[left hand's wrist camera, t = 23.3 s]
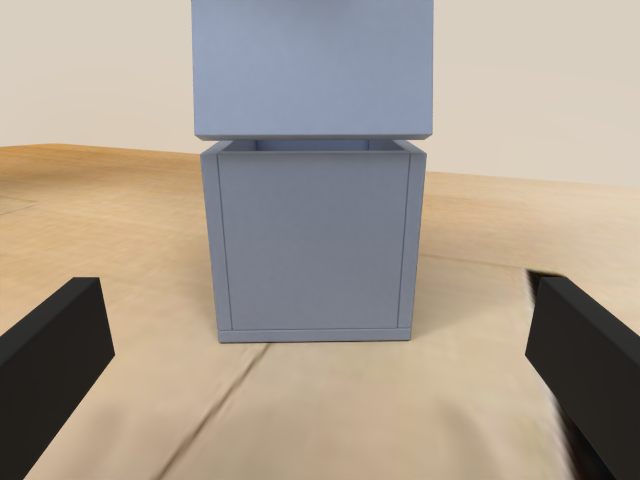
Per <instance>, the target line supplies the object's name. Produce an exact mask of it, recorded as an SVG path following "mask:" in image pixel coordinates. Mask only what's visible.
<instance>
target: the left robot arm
mask: <svg viewBox="0 0 640 480" xmlns="http://www.w3.org/2000/svg"><path fill="white" fill-rule="evenodd" d="M114 356H115V352H114V347H113V342H112V337H111V333H110V328H109V323H108V318H107V313H106V308H105V303H104V298H103V294H102V289H101V284H100V279H99V277H73V278H72V279H71V280H69V281H68V282H67V283H66V284H65V285H63V286H62V287H61V288H60V289H58V290H57V291H56V292H55V293H53V294H52V295H51V296H50V297H49V298H47V299H46V300H45V301H44V302H42V303H41V304H40V305H39V306H37V307H36V308H35V309H34V310H32V311H31V312H30V313H29V314H28V315H26V316H25V317H24V318H23V319H21V320H20V321H19V322H18V323H16V324H15V325H14V326H13V327H11V328H10V329H9V330H8V331H7V332H5V333H4V334H3V335H2V336H0V480H23V479H24V478H25V476H26V475H27V474H28V472H29V471H30V470H31V468H32V467H33V466H34V464H35V463H36V462H37V460H38V459H39V457H40V456H41V455H42V453H43V452H44V451H45V449H46V448H47V447H48V445H49V444H50V443H51V441H52V440H53V439H54V437H55V436H56V434H57V433H58V432H59V430H60V429H61V428H62V426H63V425H64V424H65V422H66V421H67V420H68V418H69V417H70V415H71V414H72V413H73V411H74V410H75V409H76V407H77V406H78V405H79V403H80V402H81V401H82V399H83V398H84V397H85V395H86V394H87V392H88V391H89V390H90V388H91V387H92V386H93V384H94V383H95V382H96V380H97V379H98V378H99V376H100V375H101V374H102V372H103V371H104V369H105V368H106V367H107V365H108V364H109V363H110V361H111V360H112V359H113V357H114ZM525 356H526V357H527V359H528V360H529V361H530V363H531V364H532V365H533V367H534V368H535V369H536V371H537V372H538V374H539V375H540V376H541V378H542V379H543V380H544V382H545V383H546V384H547V386H548V387H549V388H550V390H551V391H552V392H553V394H554V395H555V397H556V398H557V399H558V401H559V402H560V403H561V405H562V406H563V407H564V409H565V410H566V411H567V413H568V414H569V415H570V417H571V418H572V420H573V421H574V422H575V424H576V425H577V426H578V428H579V429H580V430H581V432H582V433H583V434H584V436H585V437H586V439H587V440H588V441H589V443H590V444H591V445H592V447H593V448H594V449H595V451H596V452H597V453H598V455H599V456H600V457H601V459H602V460H603V462H604V463H605V464H606V466H607V467H608V468H609V470H610V471H611V472H612V474H613V475H614V476H615V478H616V479H617V480H640V336H638V335H637V334H636V333H635V332H633V331H632V330H631V329H630V328H629V327H627V326H626V325H625V324H624V323H622V322H621V321H620V320H619V319H617V318H616V317H615V316H614V315H612V314H611V313H610V312H609V311H608V310H606V309H605V308H604V307H603V306H601V305H600V304H599V303H598V302H596V301H595V300H594V299H593V298H591V297H590V296H589V295H588V294H587V293H585V292H584V291H583V290H582V289H580V288H579V287H578V286H577V285H575V284H574V283H573V282H572V281H571V280H569V279H568V278H567V277H541V279H540V284H539V289H538V294H537V298H536V303H535V308H534V313H533V318H532V323H531V328H530V333H529V337H528V342H527V347H526V352H525Z"/></svg>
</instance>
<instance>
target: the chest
mask: <svg viewBox="0 0 640 480" xmlns="http://www.w3.org/2000/svg"><path fill="white" fill-rule="evenodd" d="M426 157H427V154H426V153H425V152H424V151H422V150H420V149H419V148H417V147H416V146H414V145H413V144H411V143H410V142H408V141H406V140H236V141H219V142H217V143H216V144H215V145H213V146H212V147H210V148H209V149H207V150H206V151H204V152H203V153H201V154H200V158H201V168H202V178H203V188H204V198H205V208H206V218H207V228H208V238H209V248H210V258H211V268H212V278H213V288H214V298H215V308H216V318H217V327H218V336H219V342H220V343H229V342H304V341H380V340H410V338H411V327H412V316H413V305H414V293H415V282H416V271H417V259H418V248H419V236H420V225H421V214H422V202H423V191H424V180H425V168H426Z"/></svg>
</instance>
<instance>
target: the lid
mask: <svg viewBox="0 0 640 480" xmlns="http://www.w3.org/2000/svg"><path fill="white" fill-rule="evenodd" d="M191 9H192V50H193V92H194V133H195V136H197V137H198V138H199V139H201V140H203V141H236V140H425V139H426V138H428V137H429V136H431V135H432V118H433V0H191Z"/></svg>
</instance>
